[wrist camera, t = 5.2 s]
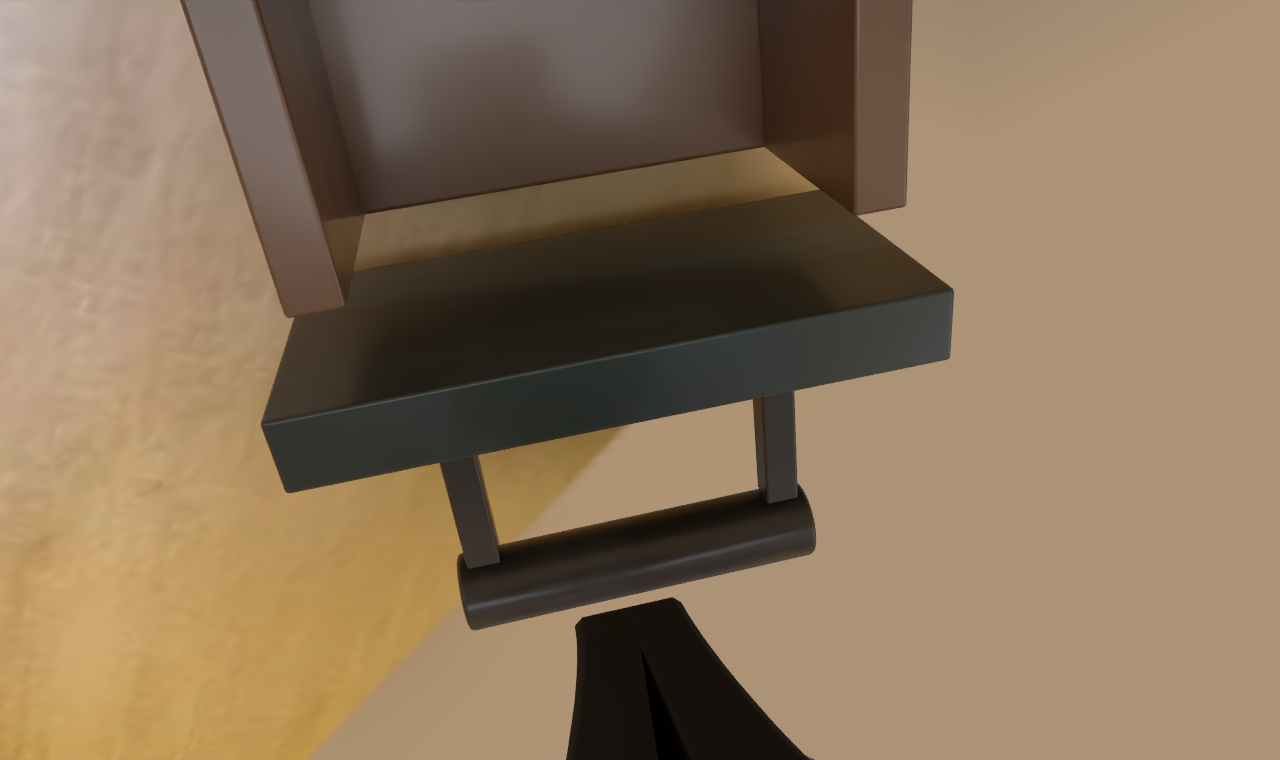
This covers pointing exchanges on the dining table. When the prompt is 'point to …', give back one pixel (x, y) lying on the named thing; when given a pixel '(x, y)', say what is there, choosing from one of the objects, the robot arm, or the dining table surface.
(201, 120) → the dining table surface
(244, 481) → the dining table surface
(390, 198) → the drawer
